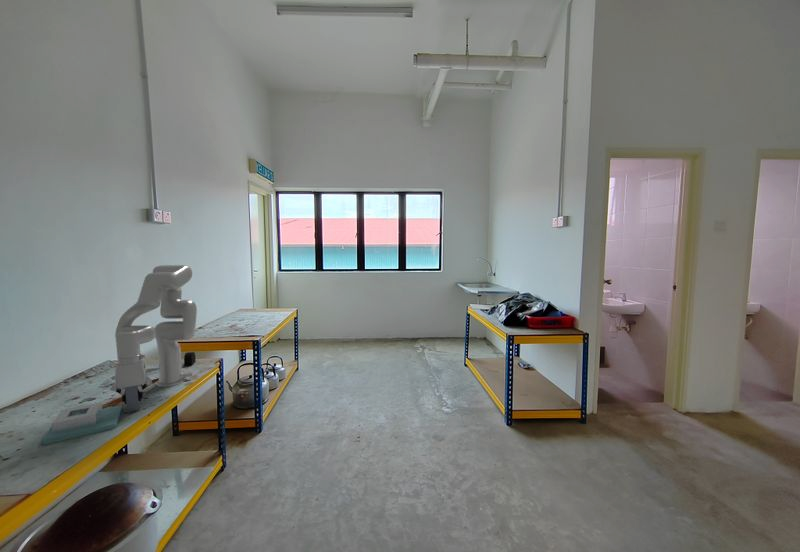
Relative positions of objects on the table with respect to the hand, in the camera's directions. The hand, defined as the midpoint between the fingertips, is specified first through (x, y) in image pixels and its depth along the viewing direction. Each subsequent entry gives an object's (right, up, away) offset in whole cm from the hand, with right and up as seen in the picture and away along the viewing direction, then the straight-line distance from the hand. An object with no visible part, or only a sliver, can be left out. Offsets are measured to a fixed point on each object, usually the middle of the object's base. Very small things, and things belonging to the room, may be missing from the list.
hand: (133, 400), depth 144 cm
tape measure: (-11, 0, +58) cm, 59 cm away
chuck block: (-10, -6, -11) cm, 16 cm away
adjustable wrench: (-31, -2, +26) cm, 41 cm away
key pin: (0, -4, 0) cm, 4 cm away
